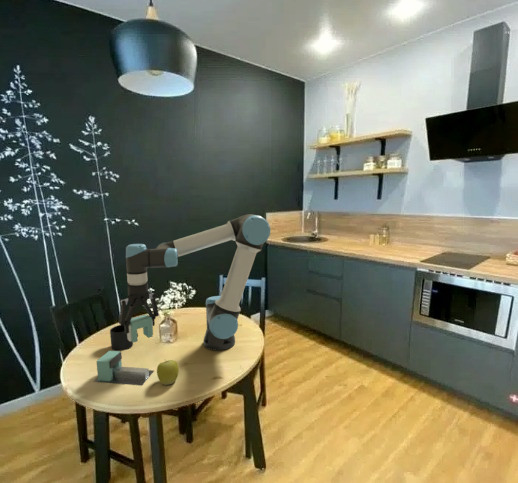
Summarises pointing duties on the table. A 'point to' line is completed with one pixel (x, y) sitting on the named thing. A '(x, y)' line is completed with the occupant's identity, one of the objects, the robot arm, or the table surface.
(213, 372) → the table surface
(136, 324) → the teal arch
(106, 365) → the teal notched block
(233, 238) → the robot arm
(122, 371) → the rail base
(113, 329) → the mug
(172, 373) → the apple
